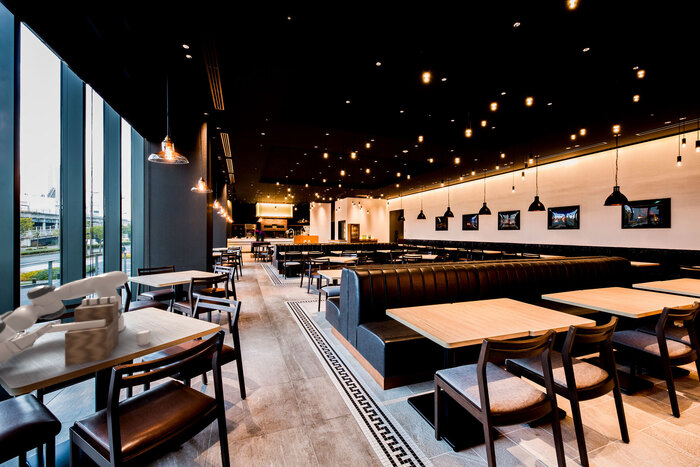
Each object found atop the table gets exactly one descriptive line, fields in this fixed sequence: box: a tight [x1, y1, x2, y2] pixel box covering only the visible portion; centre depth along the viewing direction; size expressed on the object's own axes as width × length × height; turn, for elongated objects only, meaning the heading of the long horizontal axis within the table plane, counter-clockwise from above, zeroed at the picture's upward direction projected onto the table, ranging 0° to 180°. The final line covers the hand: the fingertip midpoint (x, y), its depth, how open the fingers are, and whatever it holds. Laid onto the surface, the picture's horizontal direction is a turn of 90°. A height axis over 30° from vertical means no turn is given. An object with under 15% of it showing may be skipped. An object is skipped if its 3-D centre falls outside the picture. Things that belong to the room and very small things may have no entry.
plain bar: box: [45, 319, 106, 334], centre depth 146 cm, size 22×3×3 cm, turn 118°
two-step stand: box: [64, 301, 120, 367], centre depth 153 cm, size 16×24×25 cm, turn 28°
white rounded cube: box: [135, 329, 151, 346], centre depth 167 cm, size 7×7×7 cm
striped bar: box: [81, 296, 116, 305], centre depth 161 cm, size 14×3×3 cm, turn 118°
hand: (55, 323), depth 142 cm, fingers open, 8 cm apart
